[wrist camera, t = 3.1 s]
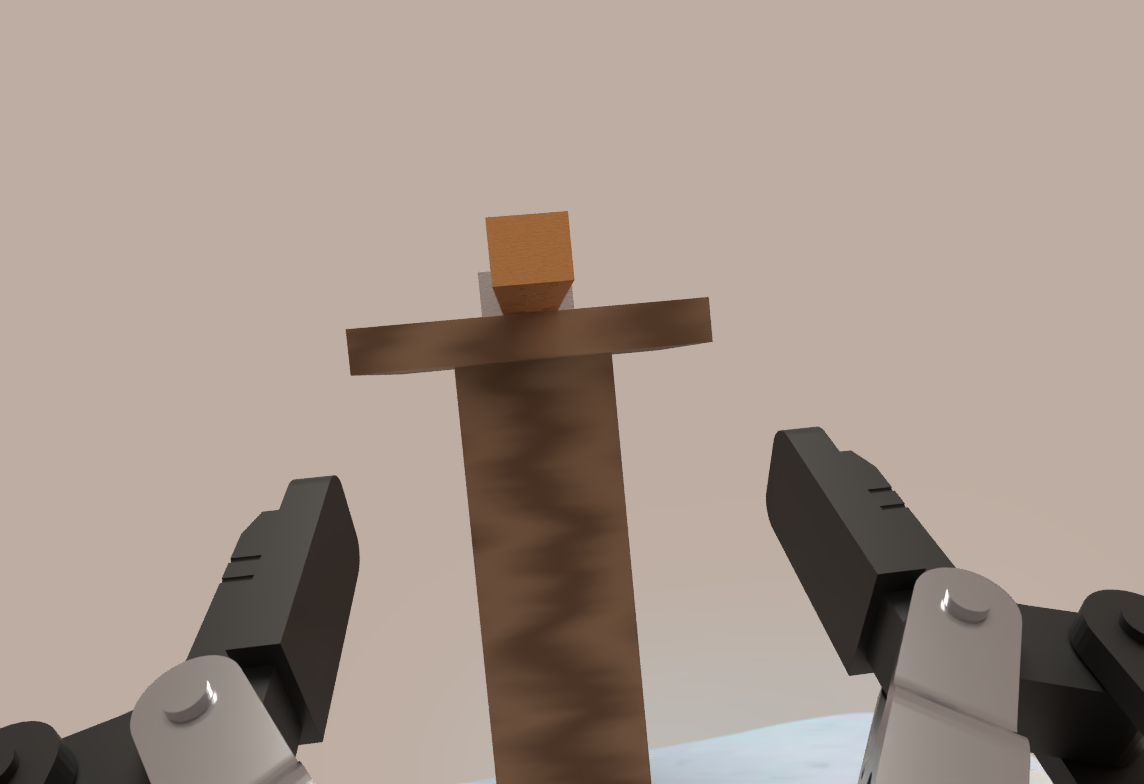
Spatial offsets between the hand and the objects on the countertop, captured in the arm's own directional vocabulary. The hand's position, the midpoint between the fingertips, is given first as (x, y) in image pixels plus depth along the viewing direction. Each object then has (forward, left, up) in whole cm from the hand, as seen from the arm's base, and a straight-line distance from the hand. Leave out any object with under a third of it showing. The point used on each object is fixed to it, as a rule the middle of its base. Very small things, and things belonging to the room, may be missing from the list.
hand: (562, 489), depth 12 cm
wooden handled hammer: (0, +18, +5) cm, 19 cm away
